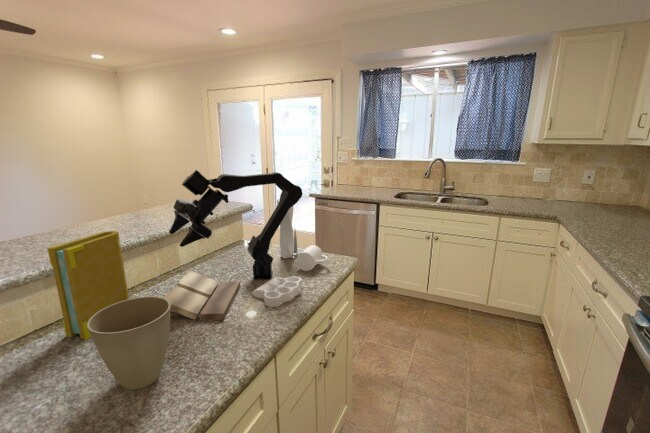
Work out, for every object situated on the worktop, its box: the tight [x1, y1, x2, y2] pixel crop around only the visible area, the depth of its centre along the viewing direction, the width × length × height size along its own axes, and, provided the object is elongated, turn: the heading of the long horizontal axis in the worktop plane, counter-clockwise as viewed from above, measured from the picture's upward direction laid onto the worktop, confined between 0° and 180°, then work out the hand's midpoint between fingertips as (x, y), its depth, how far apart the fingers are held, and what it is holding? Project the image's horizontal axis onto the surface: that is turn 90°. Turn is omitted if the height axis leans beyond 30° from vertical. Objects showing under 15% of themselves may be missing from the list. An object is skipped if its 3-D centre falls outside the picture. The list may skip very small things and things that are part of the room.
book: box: [46, 230, 130, 341], centre depth 89 cm, size 17×7×25 cm, turn 168°
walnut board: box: [197, 280, 241, 321], centre depth 103 cm, size 8×22×2 cm, turn 3°
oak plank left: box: [163, 284, 208, 321], centre depth 96 cm, size 11×10×2 cm
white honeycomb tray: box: [252, 275, 304, 308], centre depth 108 cm, size 3×18×15 cm
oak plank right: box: [176, 270, 220, 301], centre depth 108 cm, size 11×10×2 cm
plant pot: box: [87, 295, 171, 391], centre depth 68 cm, size 15×15×16 cm
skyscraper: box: [276, 198, 298, 258], centre depth 142 cm, size 8×8×28 cm
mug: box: [295, 244, 329, 272], centre depth 131 cm, size 12×10×8 cm
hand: (175, 239), depth 105 cm, fingers open, 9 cm apart
